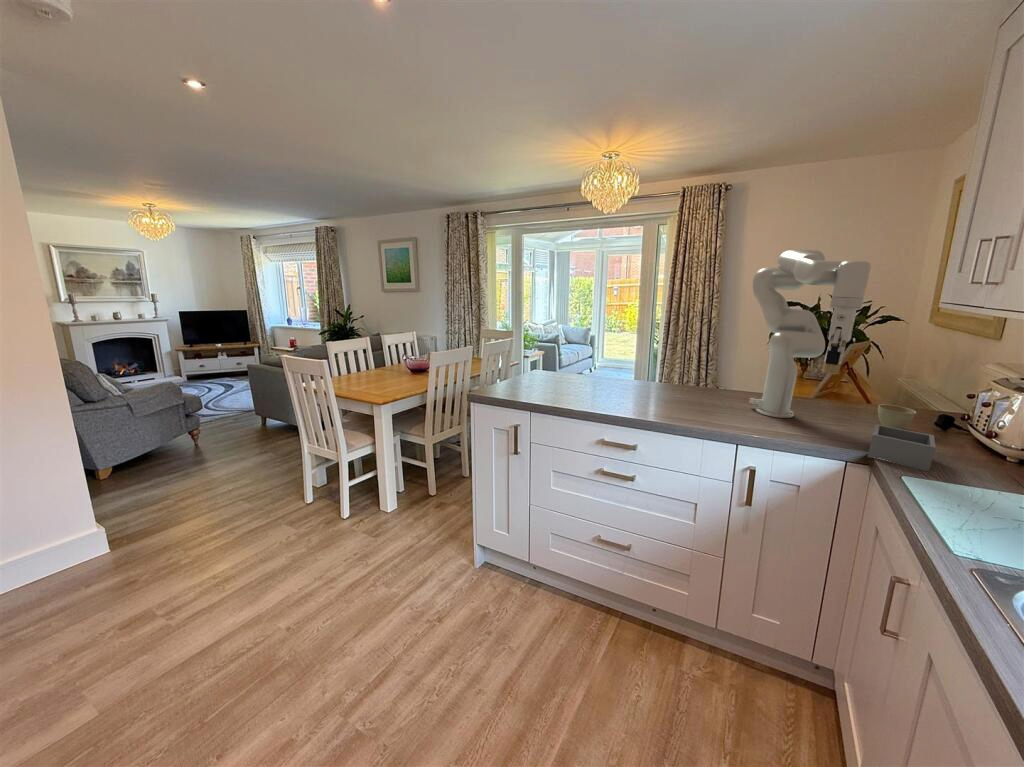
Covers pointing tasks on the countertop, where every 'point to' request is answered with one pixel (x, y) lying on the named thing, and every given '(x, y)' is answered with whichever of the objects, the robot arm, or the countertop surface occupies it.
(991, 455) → the countertop surface
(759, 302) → the robot arm
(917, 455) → the bin
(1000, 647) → the countertop surface
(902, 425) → the pale green bowl
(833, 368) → the sprinkles bottle
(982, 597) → the countertop surface
